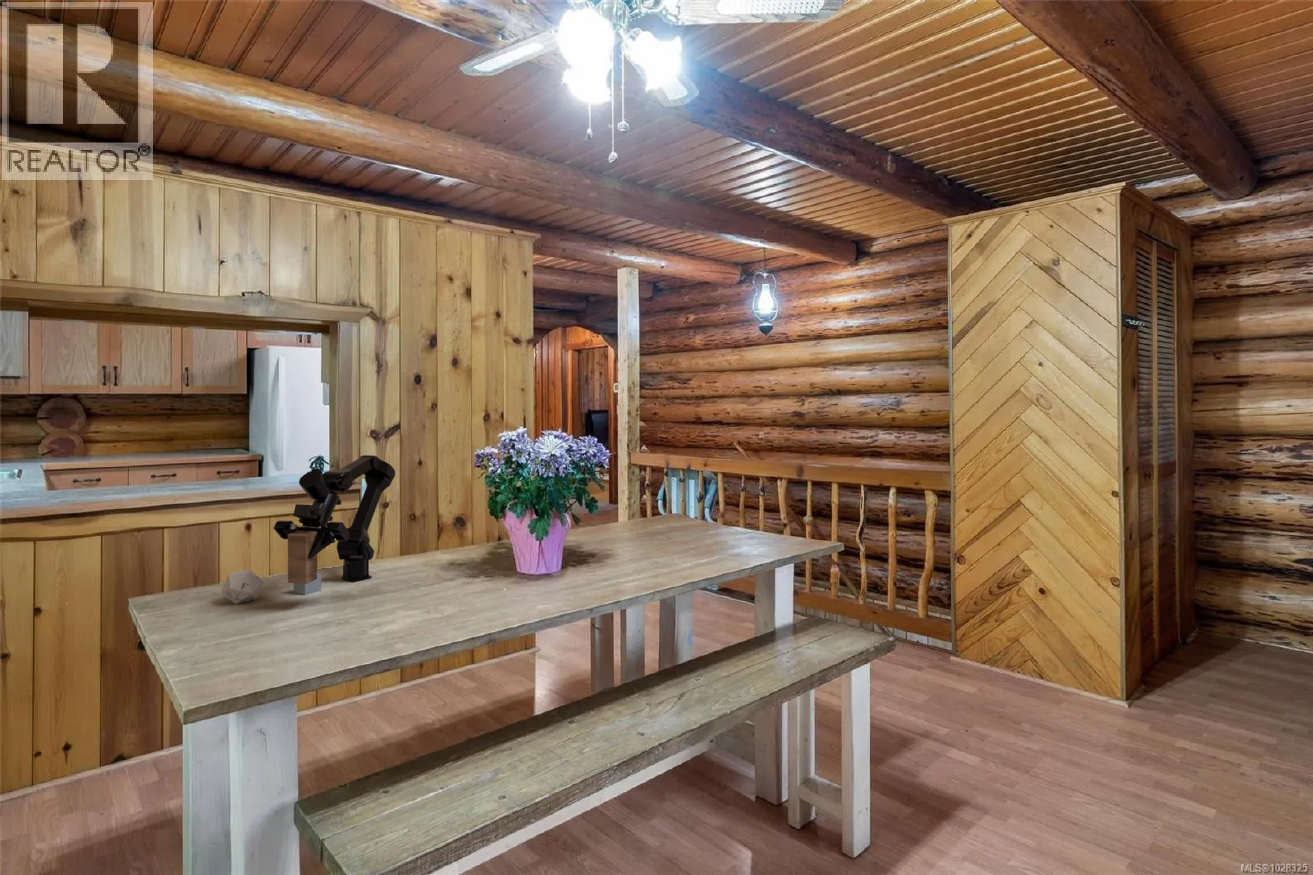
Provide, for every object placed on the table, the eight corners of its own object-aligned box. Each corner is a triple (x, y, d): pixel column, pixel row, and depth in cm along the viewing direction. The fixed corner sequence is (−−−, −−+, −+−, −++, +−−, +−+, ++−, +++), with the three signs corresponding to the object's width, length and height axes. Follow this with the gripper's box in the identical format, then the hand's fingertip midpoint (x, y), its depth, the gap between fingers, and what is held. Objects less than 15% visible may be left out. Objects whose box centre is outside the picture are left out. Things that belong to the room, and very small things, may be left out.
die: (214, 607, 178) (225, 581, 174) (224, 583, 185) (235, 558, 181) (249, 614, 182) (260, 589, 178) (258, 590, 189) (269, 566, 185)
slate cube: (309, 588, 194) (309, 571, 194) (321, 590, 192) (320, 573, 192) (293, 592, 190) (293, 575, 190) (305, 595, 188) (305, 578, 187)
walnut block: (299, 577, 181) (299, 530, 180) (317, 578, 180) (317, 531, 179) (287, 583, 176) (287, 534, 175) (306, 584, 175) (306, 535, 174)
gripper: (276, 491, 181) (250, 540, 170) (343, 493, 180) (321, 542, 169) (294, 514, 189) (270, 562, 179) (358, 516, 188) (338, 564, 178)
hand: (299, 557), depth 176 cm, fingers closed on walnut block, 5 cm apart
